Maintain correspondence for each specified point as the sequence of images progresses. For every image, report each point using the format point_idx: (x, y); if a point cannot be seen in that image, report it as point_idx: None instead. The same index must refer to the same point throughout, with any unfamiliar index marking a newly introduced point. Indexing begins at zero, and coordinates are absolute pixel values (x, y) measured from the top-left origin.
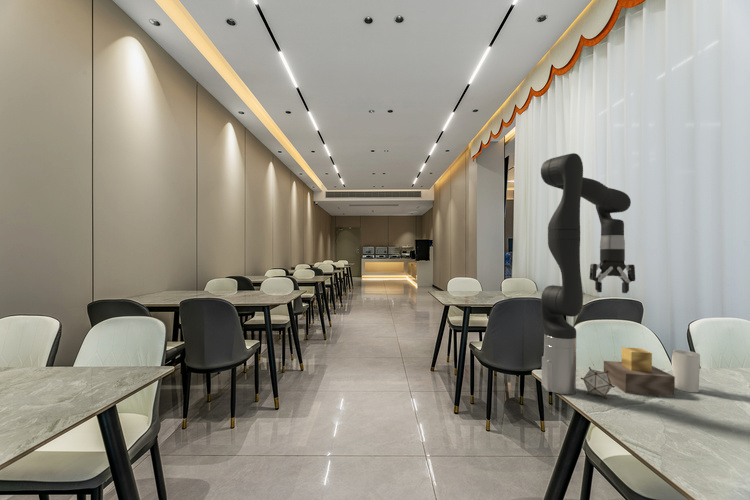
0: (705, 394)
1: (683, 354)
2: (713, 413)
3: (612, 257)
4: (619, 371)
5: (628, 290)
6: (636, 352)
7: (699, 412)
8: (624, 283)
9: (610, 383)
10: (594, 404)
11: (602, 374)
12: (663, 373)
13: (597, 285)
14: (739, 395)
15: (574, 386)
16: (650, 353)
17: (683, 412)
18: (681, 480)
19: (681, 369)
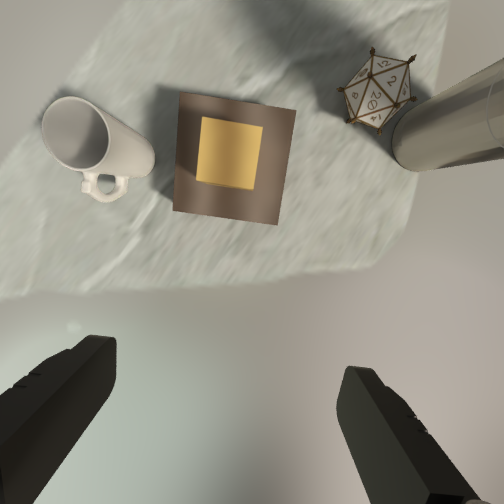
0: None
1: (100, 112)
2: (182, 9)
3: None
4: (290, 142)
5: (52, 359)
6: (247, 124)
7: (208, 14)
8: (11, 463)
9: (360, 71)
10: (404, 50)
11: (386, 67)
12: (190, 119)
13: (437, 448)
14: (41, 123)
15: (419, 105)
16: (206, 117)
17: (243, 12)
18: None
19: (129, 131)
